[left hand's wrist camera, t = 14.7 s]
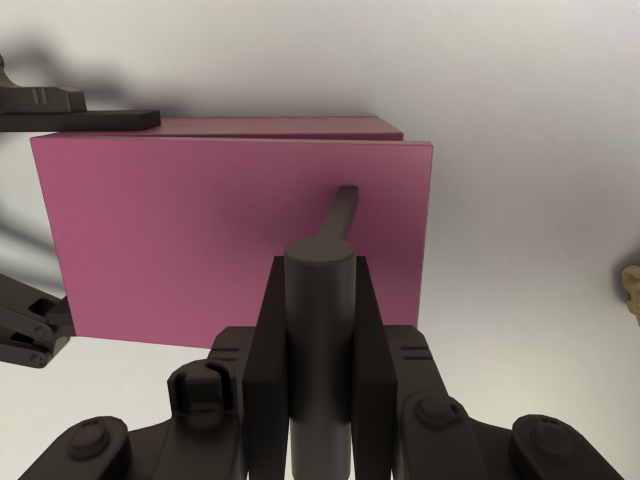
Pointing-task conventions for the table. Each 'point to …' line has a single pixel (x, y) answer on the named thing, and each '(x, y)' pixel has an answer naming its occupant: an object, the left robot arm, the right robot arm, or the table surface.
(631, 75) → the table surface
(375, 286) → the lid
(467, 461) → the left robot arm
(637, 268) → the sculpture
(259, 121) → the chest
